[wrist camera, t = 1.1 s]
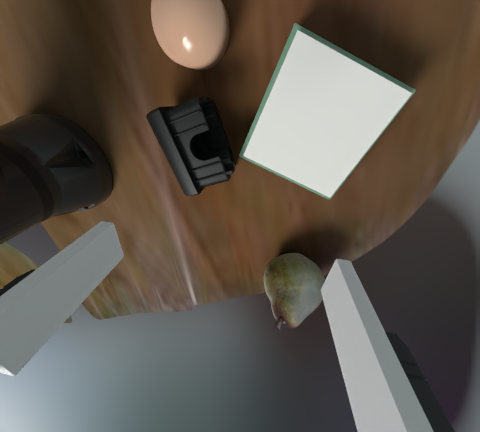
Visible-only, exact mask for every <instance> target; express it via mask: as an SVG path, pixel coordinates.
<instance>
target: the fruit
mask: <svg viewBox="0 0 480 432" xmlns="http://www.w3.org/2000/svg"><path fill="white" fill-rule="evenodd" d="M324 282H325V279H324V276H323V274H322V272H321V270H320V268H319V267H318V266H317V265H316V264H315V263H314V262H313V261H311V260H309V259H308V258H307V257H305V256H304V255H302V254H300V253H287V254H283V255H281V256H278V257H276V258H274V259H272V260H271V261H270V262H269V263H268V265H267V266H266V268H265V272H264V286H265V290H266V293H267V296H268V298H269V299H270V301H271V306H272V311H273V314H274V317H275V318H276V320H277V322H276V323H275V327H276V328H277V329H278V330H279V329H280V325H283V326H284V327H287V328H295V327H297V326H298V325H299V324H300V323H301V322H302V321H303V320H304V319H305V318H306V317H307V316H308V315H309V314H311V313H312V312H313V311H314V310H315V309H316V308H317V307H318V306H319V304H320V303H321V301H322V299H323V297H322V293H321V288H322V286H323V284H324Z"/></svg>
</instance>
